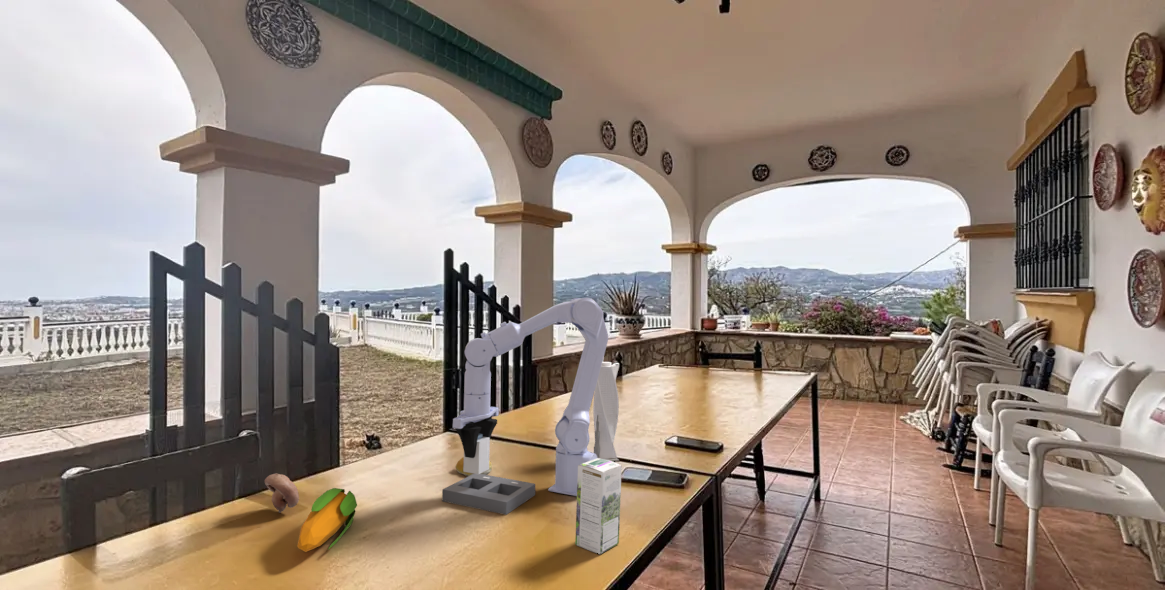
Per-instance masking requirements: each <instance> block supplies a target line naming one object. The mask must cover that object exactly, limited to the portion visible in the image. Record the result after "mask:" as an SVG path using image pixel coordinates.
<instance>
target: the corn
mask: <svg viewBox="0 0 1165 590" xmlns="http://www.w3.org/2000/svg"><path fill="white" fill-rule="evenodd" d="M345 491H346V490H345V488H337V487H332V488H331V489H328V490H326V491H325V492H323V493H322V494H321V495H320V496H319V497H317V498H316V499H315V500H314V502H313V504H312V505H311V511H310V513H309V514H308V515H307V517H306V519H305V521H304V522H303V524H302V525H301V527H300V531H299V535H298V540H297V546H296V547H297V548H298V549H299V550H300V551H303V552H305V553H307V552H309V551H311V550H314V549H316V548H317V547H321V546H322V545H323V544H324V543H326V542H327V541H328V540H329V539H330V538H331V537H332V536H334V535H335V534H336V533H337V532H338V531H339V530H340V528H342V526H343V525H344V527H343V528H342V531H340V534H339V536H338V537H336V539H335V540H334V541H333V542H332V543H331V544H330V545H329V547H328V549H327V551H329V549H331V548H332V547H334V545H335V544H336V543H337V542H338V541H339V540H340V539H341V537H343V535H344V534H345V533H346V532H347V530H348V529H349V528H350V527H351V526H352V523H353V521H354V517H355V514H356V512H357V511H356V508H357V507H358V503H357V499H356V496H355V494H354V493H353V492H352V490H350V489H349V490H348V492H347V493H345Z"/></svg>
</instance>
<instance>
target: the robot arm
mask: <svg viewBox="0 0 1165 590" xmlns="http://www.w3.org/2000/svg"><path fill="white" fill-rule="evenodd" d="M555 323H568V324H572V325H573V326H575V327H576V328H577V329H578V331H579V332H580V334H581V335H582V336H583V338H584V340H585V341H584V345H583V348H582V353H581V356H580V360H579V364H578V367H577V371H576V375H575V377H574V378H575V379H574V383H573V386H572V390H571V394H570V395H569V396H570V397H569V400H568V404H567V406H566V408H564V411H563V413H562V416H561V418H560V419H559V420H558V422H557V423H556V424H555V429H554V433H555V436H556V438H557V440H559V441H558V444H557V445H556V446H555V477H554V478H555V482H554V484H552V486H550V487H549V488H548V490H547V491H549V492H552V493H553V492H554V493H558V494H562V495H563V494H564V495H569V496H572V497H573V496H574V497H577V479H578V465H580V464H583V463H586V462H588V461H591V460H594V459H597V455H596V454H594V452H590V451H589V450H588V446H589V444H590V434H589V433H590V432H589V427H590V424H591V423H590V422H591V421H590V420H591V419H590V410H591V409H590V408H591V405H592V401H593V400H594V393H595V387H596V384H597V380H598V376H599V372H600V369H601V365H602V361H603V362H604V360H603V357H604V356H605V354H606V349H607V345H608V342H609V334H608V330H607V327H606V326H607V325H606V322H605V319H604V311H603V309H602V308H601V306H600V305H599V303H597V302H596V301H595V300H594V299H593V298H590V297H582V298H581V297H575V298H572V299H570V300H569V301H564V302H560V303H558V304H555V305H552V306H551V307H549V308H547V309H545V310H543V311H541V312H539V313H538V314H535V315H534V316H532V317H530V318H527V319H526V320H524V321H522V322H520V323H516V322H512V321H509V322H508V323H507V322H506V321H503V322H502V323H500V324H499V325H500V327H497V328H495V329H493V330H491V331H489V332H487V333H486V332H481V333H480V336H481V338H479V337H477V338H476V337H475V338H473V339H471V340H469V341H468V342H467V344H466V346H465V348H464V356H465V358H466V362H465V365H464V366H465V367H464V368H465V372H464V386H463V387H464V389H463V390H464V393H463V410H461V411H460V412H459V415H458V416H457V417H456V416H455V417H454V418H452V429H455V431H456V432H457V435H458V436H459V439H460V441H461V444H462V449H463V454H464V453H465V457H469V458H474V457H475V453H476V445H477V439H478V435H479V434H483V437H489V438H490V439H491V437H492V434H493V433H494V430H495V428H496V426H497V424H498V419H496V418H493V417H498V416H499V413H500V412H499V406H498V407H496V406H491V387H492V386H491V381H492V378H491V377H492V372H491V361H492V359H493V357H495V358H496V357H499V356H502V355H504V354H505V353H507V352H509V351H512V350H514V349H516V348H518V347H520V346H521V345H523V342H524V340H525V338H526V337H528V336H529V335H532V334H534V333H536V332H539V331H540V330H543V329H545V328H548V327H550V326H552V325H553V324H555ZM604 358H605V357H604Z"/></svg>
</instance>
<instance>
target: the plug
mask: <svg viewBox="0 0 1165 590" xmlns="http://www.w3.org/2000/svg"><path fill="white" fill-rule="evenodd" d="M490 441H491V437H490V438H489V437H483V434H479V435H478V439H477V445H476V453H475V457H474V458H469V457H465V453H464V452H463V457H464V467H463V472H468V473H474V474H480V473H482V472H484V471H486V470H488V469H489V461H490V450H491V449H490V443H491V442H490Z"/></svg>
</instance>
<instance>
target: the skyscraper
mask: <svg viewBox="0 0 1165 590" xmlns="http://www.w3.org/2000/svg"><path fill="white" fill-rule="evenodd" d="M604 359H605V357H603V361H602V365H601V369H600V372H599V376H598V380H597V384H596V387H595V391H594V395H593V407H592V408H593V409H592V410H593V412H592V414H593V430H594V446H593V453H594V454H596V455H597V458H600V459H606V460H609V461H612V462H614V461H619V462H620V459H619V458H618V456H617V453H616V448H615V445H614V442H615V436H616V432H617V428H618V423H619V422H618V421H619V412H620V410H619V407H620V406H619V405H620V403H619V402H620V400H619V391H618V386H617V381H616V380H617V376H618V374H619V373H618V371H619V369H620V363H619V362H615V363H613V364H612V362H611V361H604Z"/></svg>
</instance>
